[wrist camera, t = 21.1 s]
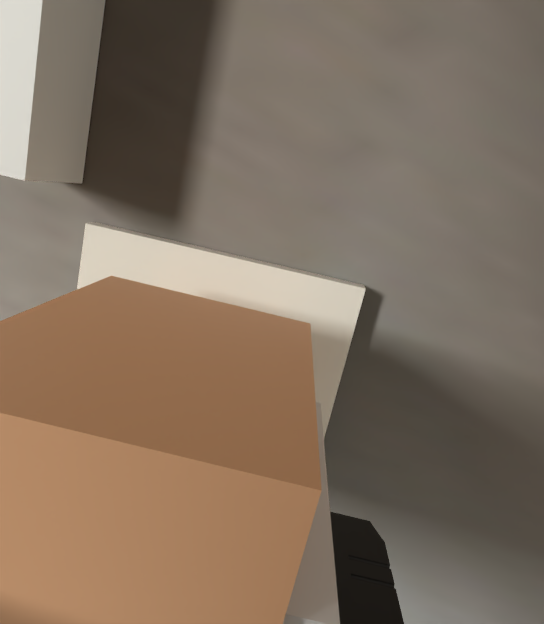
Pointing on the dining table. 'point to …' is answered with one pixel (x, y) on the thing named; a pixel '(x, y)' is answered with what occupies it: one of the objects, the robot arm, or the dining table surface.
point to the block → (153, 459)
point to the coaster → (235, 290)
